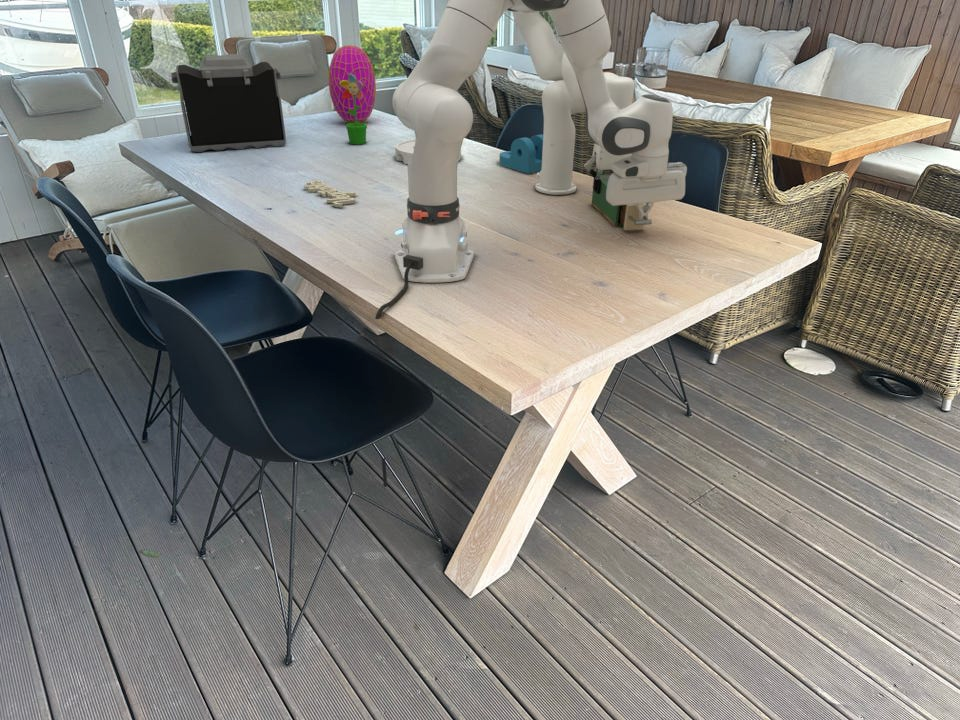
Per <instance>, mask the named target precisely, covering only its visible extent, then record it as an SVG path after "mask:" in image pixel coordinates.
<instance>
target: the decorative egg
mask: <svg viewBox="0 0 960 720" xmlns="http://www.w3.org/2000/svg"><path fill="white" fill-rule="evenodd" d="M348 73H350V74H352V75H354V76H355V78H356V83H357V82H358V81H361V82H362V84H363V89H361V90H360V91H361V92H362V93H363V98H362V100H359V99H358V98H357V97H356V95H355V103H356V106H359V109H358V110H356V116H357V123H364V122H365V121H366V120H368V118H369V117H370V116H371V114H372V112H373V111H374V106H375V103H376V102H375V101H376V96H377V95H376V94H377V83H376V82H377V81H376V75H375V71H374V68H373V63H372V62H371V60H370V57H369V56H368V54H367V53H366V51H365V50H363V48H361V47H359V46H357V45H353V44H352V45H351V44H348V45H343V46H340V47H338V48H337V49H336V51H334V53H333V56H332V57H331V61H330V63H329V69H328V90H329V96H330V99H331V103H332V105H333V108H334V110H335V111H336V113H337V114H338V116H339V118H341V119H342V120H343V121H344V122H346V123H348V124H349V123H355V115H351V114H349V112H348V111H349V110H354V100H353V95H352V96H351V97H350V98H348V99H341V97H342V94H343V93H344V91H345V90H347V89H346V88H343V87H342V86H341V85H340V84H339V83H340V82H341V81H342V80H346V81H349V78H348Z"/></svg>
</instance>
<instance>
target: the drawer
mask: <svg viewBox="0 0 960 720" xmlns="http://www.w3.org/2000/svg"><path fill="white" fill-rule="evenodd" d="M645 206H646V204H645V203H644V207H642V209H643V210H644V208H645ZM638 215H639V211H638V209H637V207H636V205H635V204H627V205H620V210H619V218H618V220H619V221H620V222H621V223H622V224H623V225H624V226H623V230H624V231H631V230H643V229H644V226H645V225H652V223H653V220H652V219H651V218H650V219H649V218H648V219H639V217H638Z"/></svg>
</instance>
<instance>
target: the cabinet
mask: <svg viewBox="0 0 960 720" xmlns="http://www.w3.org/2000/svg"><path fill="white" fill-rule="evenodd" d="M610 176H611V174H604V175H603V174H602V175H601V177H600V180H601V188H600V193H599V194H597V193H596V192H594V190H593V189H592V194H591V195H592V196H591V202H590V205H592V207H593V208H595V209H596V210H597V212H599V213H600V214H601V215H602V216H603V217H604V218H605V219H607V220H608V221H609V222H610V223H611V224H612V225H613V226H614V227H624V225H623V224H622V223H621V222H620V221H619V220H618V218H619V210H620V205H617V206H612V205H611V204H610V203H609V202H608V201H607V200H606V190H607V184H608V180H609V177H610Z"/></svg>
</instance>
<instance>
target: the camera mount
mask: <svg viewBox="0 0 960 720" xmlns="http://www.w3.org/2000/svg"><path fill="white" fill-rule="evenodd" d="M542 151H543V134H542V133H541V134H535V135H532V136H531V137H530V138H529V137H525V136H524V137H520V138H515V139H514V140H513V141H512V143H511V145H510V150H506V151H502V152H500V153H499V156H498V157H499V159H498V161H499V165H500V166H503V167H506V168H509V169H511V170H515V171H518V172H520V173H524V174H527V175H529V174H534V173H538V172H539V173H540V171H541V169H542Z"/></svg>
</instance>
